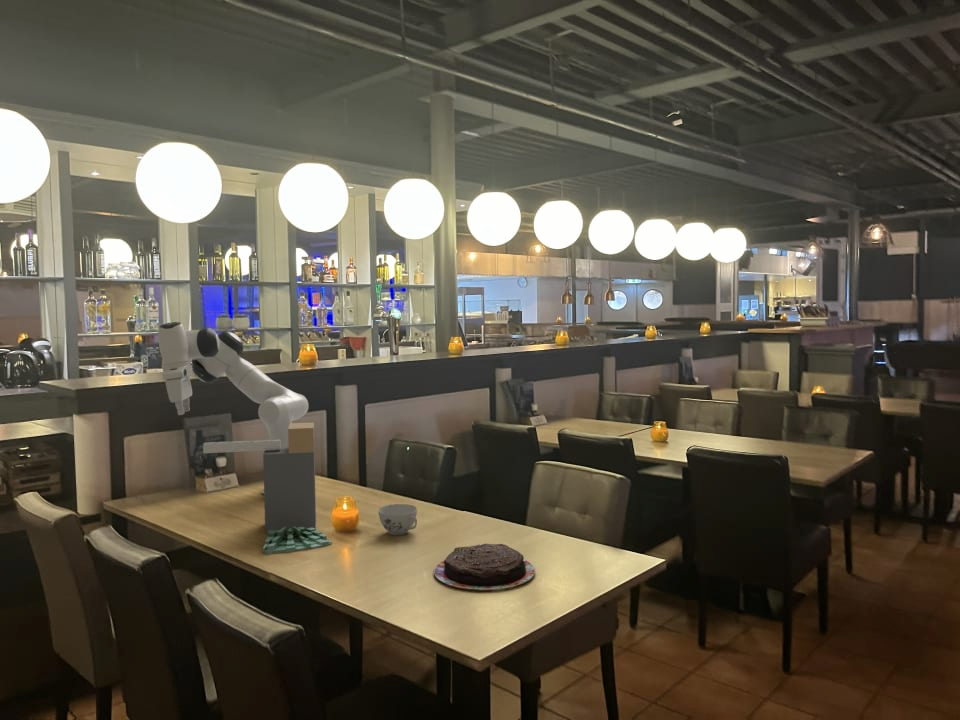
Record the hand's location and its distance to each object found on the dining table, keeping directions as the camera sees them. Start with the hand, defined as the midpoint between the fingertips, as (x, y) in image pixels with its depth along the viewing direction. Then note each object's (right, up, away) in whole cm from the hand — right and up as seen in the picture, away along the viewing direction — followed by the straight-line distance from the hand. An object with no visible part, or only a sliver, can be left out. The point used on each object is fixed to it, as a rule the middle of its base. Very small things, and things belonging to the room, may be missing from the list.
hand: (184, 413), depth 244 cm
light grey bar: (+20, -12, -1) cm, 23 cm away
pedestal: (+34, -38, +4) cm, 52 cm away
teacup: (+72, -39, -4) cm, 82 cm away
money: (+39, -40, -16) cm, 58 cm away
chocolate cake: (+99, -42, -40) cm, 115 cm away
